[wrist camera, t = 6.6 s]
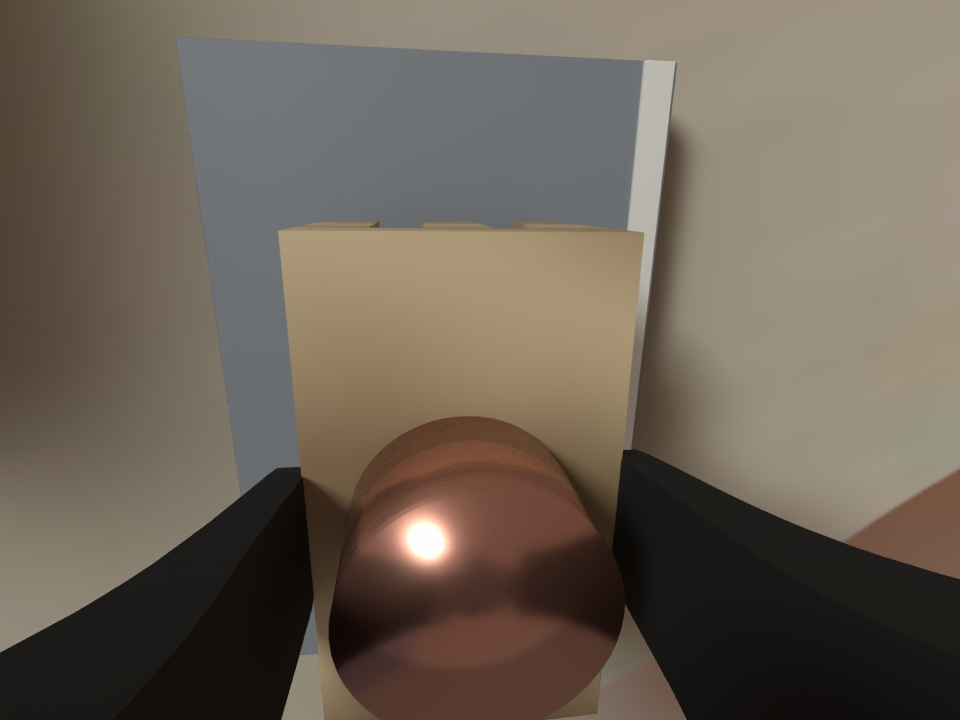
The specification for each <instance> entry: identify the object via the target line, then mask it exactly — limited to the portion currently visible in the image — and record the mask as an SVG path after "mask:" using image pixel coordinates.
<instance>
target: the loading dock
mask: <svg viewBox="0 0 960 720" xmlns="http://www.w3.org/2000/svg"><path fill="white" fill-rule="evenodd" d="M176 44H177V51H178V58H179V65H180V72H181V79H182V86H183V93H184V100H185V107H186V114H187V121H188V128H189V135H190V142H191V149H192V156H193V163H194V170H195V177H196V184H197V191H198V198H199V205H200V212H201V219H202V226H203V233H204V240H205V247H206V254H207V261H208V268H209V275H210V282H211V289H212V296H213V303H214V310H215V317H216V323H217V330H218V337H219V344H220V351H221V358H222V365H223V372H224V379H225V386H226V393H227V400H228V407H229V414H230V421H231V428H232V435H233V442H234V449H235V456H236V463H237V470H238V477H239V484H240V491H241V496H243V495H244V494H245V493H246V492H247V491H249V490H250V489H251V488H252V487H253V486H255V485H256V484H257V483H258V482H259V481H261V480H262V479H263V478H264V477H266V476H267V475H268V474H269V473H271V472H272V471H274V470H275V469H276V468H284V467H301V466H300V455H299V445H298V434H297V424H296V413H295V403H294V393H293V382H292V372H291V361H290V351H289V340H288V330H287V319H286V309H285V298H284V288H283V277H282V267H281V256H280V246H279V236H278V231H279V230H283V229H288V228H293V227H298V226H303V225H307V224H312V223H317V222H322V221H327V220H350V221H379V228H421V221H471V222H474V223H478V224H482V225H485V226H489V227H493V228H511V222H561V223H569V224H577V225H586V226H594V227H602V228H610V229H619V230H627V231H635V232H644V242H643V252H642V262H641V273H640V283H639V293H638V303H637V313H636V323H635V333H634V343H633V354H632V364H631V374H630V384H629V394H628V404H627V414H626V425H625V435H624V445H623V450H632V449H633V441H634V432H635V424H636V415H637V406H638V398H639V389H640V380H641V372H642V363H643V354H644V346H645V337H646V328H647V320H648V311H649V303H650V294H651V285H652V277H653V268H654V259H655V251H656V242H657V233H658V225H659V216H660V207H661V199H662V190H663V181H664V173H665V164H666V155H667V147H668V138H669V129H670V121H671V112H672V103H673V95H674V86H675V77H676V69H677V63H675V61H655V60H645V61H635V60H616V59H596V58H577V57H557V56H537V55H518V54H498V53H479V52H459V51H439V50H420V49H400V48H381V47H361V46H342V45H322V44H302V43H283V42H263V41H244V40H224V39H204V38H185V37H176ZM317 653H318V644H317V633H316V623H315V612H314V602H313V607H312V612H311V615H310V619H309V623H308V626H307V630H306V634H305V637H304V641H303V644H302V648H301V652H300V655H307V654H317Z"/></svg>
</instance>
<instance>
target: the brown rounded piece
mask: <svg viewBox="0 0 960 720" xmlns="http://www.w3.org/2000/svg"><path fill="white" fill-rule="evenodd" d="M624 608H625V594H624V585H623V580H622V576H621V573H620V569H619V566H618V564H617V562H616V560H615V557H614V555H613V553H612V551H611V550H610V548H609V546H608V545H607V543H606V541H605V540H604V538H603V536H602V535H601V533H600V531H599V530H598V528H597V526H596V524H595V523H594V521H593V519H592V518H591V516H590V514H589V513H588V511H587V509H586V508H585V506H584V504H583V503H582V501H581V499H580V497H579V496H578V494H577V492H576V491H575V489H574V487H573V486H572V484H571V482H570V481H569V479H568V477H567V476H566V474H565V472H564V470H563V469H562V467H561V465H560V464H559V462H558V461H557V459H556V458H555V456H554V455H553V454H552V453H551V451H550V450H549V449H548V448H547V447H546V446H545V445H544V444H543V443H542V442H541V441H539V440H538V439H537V438H536V437H534V436H533V435H531V434H530V433H528V432H527V431H525V430H523V429H522V428H519V427H517V426H515V425H512V424H510V423H507V422H504V421H500V420H497V419H493V418H486V417H480V416H459V417H449V418H444V419H440V420H435V421H432V422H429V423H426V424H423V425H420V426H418V427H416V428H414V429H411V430H409V431H407V432H405V433H404V434H402V435H401V436H399V437H398V438H396V439H394V440H393V441H391V442H390V443H389V444H388V445H387V446H386V447H384V448H383V449H382V450H381V451H380V452H379V453H378V454H377V455H376V456H375V457H374V458H373V460H372V461H371V462H370V463H369V465H368V466H367V467H366V469H365V470H364V472H363V473H362V475H361V477H360V479H359V481H358V483H357V485H356V487H355V490H354V493H353V496H352V499H351V504H350V509H349V514H348V520H347V525H346V530H345V536H344V541H343V546H342V552H341V557H340V563H339V568H338V573H337V579H336V584H335V589H334V595H333V600H332V605H331V611H330V617H329V631H328V639H329V646H330V652H331V657H332V660H333V663H334V665H335V668H336V671H337V673H338V675H339V677H340V678H341V680H342V682H343V684H344V685H345V687H346V688H347V689H348V691H349V692H350V693H351V695H352V696H353V697H354V698H355V699H356V700H357V701H358V702H359V703H360V704H361V705H362V706H363V707H364V708H365V709H366V710H368V711H369V712H371V713H372V714H373V715H375V716H376V717H378V718H379V719H381V720H541V719H543V718H545V717H547V716H549V715H551V714H552V713H554V712H555V711H557V710H559V709H560V708H562V707H563V706H565V705H566V704H567V703H569V702H570V701H571V700H572V699H574V698H575V697H576V696H577V695H578V694H580V693H581V692H582V691H583V690H584V689H585V688H586V687H587V686H588V685H589V684H590V683H591V682H592V680H593V679H594V678H595V677H596V676H597V674H598V673H599V672H600V671H601V669H602V668H603V666H604V665H605V663H606V662H607V660H608V659H609V657H610V655H611V653H612V651H613V649H614V647H615V645H616V642H617V640H618V637H619V634H620V631H621V627H622V622H623V617H624Z"/></svg>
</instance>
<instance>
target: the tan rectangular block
mask: <svg viewBox="0 0 960 720" xmlns="http://www.w3.org/2000/svg"><path fill="white" fill-rule="evenodd" d="M278 236H279V246H280V256H281V267H282V277H283V288H284V298H285V309H286V319H287V330H288V340H289V351H290V361H291V372H292V382H293V393H294V403H295V413H296V424H297V434H298V445H299V455H300V466H301V476H302V477H303V485H304V496H305V507H306V517H307V528H308V538H309V549H310V559H311V570H312V580H313V591H314V601H313V602H314V612H315V623H316V633H317V644H318V654H319V665H320V675H321V686H322V696H323V706H324V717H325V720H381V719H379V718H378V717H376V716H375V715H373V714H372V713H371V712H369V711H368V710H366V709H365V708H364V707H363V706H362V705H361V704H360V703H359V702H358V701H357V700H356V699H355V698H354V697H353V696H352V695H351V693H350V692H349V691H348V689H347V688H346V687H345V685H344V684H343V682H342V680H341V678H340V677H339V675H338V673H337V671H336V668H335V665H334V663H333V660H332V657H331V652H330V646H329V639H328V631H329V617H330V611H331V605H332V600H333V595H334V589H335V584H336V579H337V573H338V568H339V563H340V557H341V552H342V546H343V541H344V536H345V530H346V525H347V520H348V514H349V509H350V504H351V499H352V496H353V493H354V490H355V487H356V485H357V483H358V481H359V479H360V477H361V475H362V473H363V472H364V470H365V469H366V467H367V466H368V465H369V463H370V462H371V461H372V460H373V458H374V457H375V456H376V455H377V454H378V453H379V452H380V451H381V450H382V449H383V448H384V447H386V446H387V445H388V444H389V443H390V442H391V441H393V440H394V439H396V438H398V437H399V436H401V435H402V434H404V433H405V432H407V431H409V430H411V429H414V428H416V427H418V426H420V425H423V424H426V423H429V422H432V421H435V420H440V419H444V418H449V417H459V416H480V417H486V418H493V419H497V420H500V421H504V422H507V423H510V424H512V425H515V426H517V427H519V428H522V429H523V430H525V431H527V432H528V433H530V434H531V435H533V436H534V437H536V438H537V439H538V440H539V441H541V442H542V443H543V444H544V445H545V446H546V447H547V448H548V449H549V450H550V451H551V453H552V454H553V455H554V456H555V458H556V459H557V461H558V462H559V464H560V465H561V467H562V469H563V470H564V472H565V474H566V476H567V477H568V479H569V481H570V482H571V484H572V486H573V487H574V489H575V491H576V492H577V494H578V496H579V497H580V499H581V501H582V503H583V504H584V506H585V508H586V509H587V511H588V513H589V514H590V516H591V518H592V519H593V521H594V523H595V524H596V526H597V528H598V530H599V531H600V533H601V535H602V536H603V538H604V540H605V541H606V543H607V545H608V546H609V548H610V550H611V551H612V548H613V538H614V528H615V518H616V508H617V497H618V487H619V477H620V467H621V459H622V455H623V445H624V435H625V425H626V414H627V404H628V394H629V384H630V374H631V364H632V354H633V343H634V333H635V323H636V313H637V303H638V293H639V283H640V273H641V262H642V252H643V242H644V232H635V231H627V230H619V229H610V228H602V227H594V226H586V225H577V224H569V223H561V222H511V228H493V227H489V226H485V225H482V224H478V223H474V222H471V221H421V228H379V221H350V220H327V221H322V222H317V223H312V224H307V225H303V226H298V227H293V228H288V229H283V230H279V231H278ZM600 678H601V671H600V672H599V673H598V674H597V676H596V677H595V678H594V679H593V680H592V682H591V683H590V684H589V685H588V686H587V687H586V688H585V689H584V690H583V691H582V692H581V693H580V694H578V695H577V696H576V697H575V698H574V699H572V700H571V701H570V702H569V703H567V704H566V705H565V706H563V707H562V708H560V709H559V710H557V711H555V712H554V713H552V714H551V715H549V716H547V717H545V718H543V719H541V720H548V719H555V718H564V717H572V716H580V715H589V714H597V708H598V697H599V688H600Z"/></svg>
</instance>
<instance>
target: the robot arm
mask: <svg viewBox="0 0 960 720" xmlns="http://www.w3.org/2000/svg"><path fill="white" fill-rule="evenodd" d="M612 553H613V555H614V557H615V560H616V562H617V564H618V566H619V569H620V573H621V576H622V580H623V585H624V594H625V604H626V606H627V608H628V610H629V612H630V614H631V615H632V617H633V619H634V621H635V623H636V625H637V627H638V628H639V630H640V632H641V634H642V636H643V637H644V639H645V641H646V643H647V645H648V647H649V648H650V650H651V652H652V654H653V656H654V658H655V659H656V661H657V663H658V665H659V667H660V669H661V670H662V672H663V674H664V676H665V678H666V679H667V681H668V683H669V685H670V687H671V689H672V691H673V692H674V694H675V697H676V699H677V701H678V703H679V704H680V707H681V709H682V711H683V713H684V715H685V717H686V719H687V720H960V579H957V578H953V577H949V576H946V575H942V574H939V573H935V572H932V571H928V570H925V569H922V568H919V567H915V566H912V565H909V564H906V563H902V562H899V561H896V560H892V559H889V558H886V557H882V556H880V555H877V554H874V553H871V552H868V551H865V550H862V549H859V548H856V547H853V546H850V545H848V544H845V543H842V542H840V541H837V540H834V539H832V538H829V537H826V536H824V535H821V534H818V533H816V532H813V531H810V530H808V529H805V528H803V527H800V526H798V525H796V524H793V523H791V522H788V521H786V520H784V519H781V518H779V517H777V516H775V515H772V514H770V513H768V512H766V511H763V510H761V509H759V508H757V507H754V506H752V505H750V504H748V503H746V502H744V501H742V500H740V499H737V498H735V497H733V496H731V495H729V494H727V493H725V492H723V491H721V490H719V489H717V488H715V487H713V486H711V485H709V484H707V483H705V482H703V481H701V480H699V479H697V478H695V477H693V476H691V475H689V474H687V473H685V472H683V471H681V470H679V469H677V468H675V467H673V466H671V465H669V464H667V463H665V462H663V461H661V460H659V459H657V458H655V457H653V456H651V455H648V454H646V453H644V452H641V451H638V450H635V449H632V450H623V455H622V459H621V467H620V477H619V487H618V497H617V508H616V518H615V528H614V538H613V548H612ZM313 601H314V591H313V580H312V570H311V559H310V549H309V538H308V528H307V517H306V507H305V496H304V485H303V477H302V476H301V467H284V468H276V469H275V470H274V471H272V472H271V473H269V474H268V475H267V476H266V477H264V478H263V479H262V480H261V481H259V482H258V483H257V484H256V485H255V486H253V487H252V488H251V489H250V490H249V491H247V492H246V493H245V494H244V495H243V496H241V497H240V498H239V499H238V500H236V501H235V502H234V503H233V504H232V505H230V506H229V507H228V508H227V509H225V510H224V511H223V512H222V513H220V514H219V515H218V516H217V517H215V518H214V519H213V520H212V521H210V522H209V523H208V524H207V525H205V526H204V527H203V528H201V529H200V530H199V531H197V532H196V533H194V534H193V535H192V536H190V537H189V538H188V539H186V540H185V541H183V542H182V543H181V544H179V545H178V546H177V547H175V548H174V549H173V550H171V551H170V552H168V553H167V554H166V555H164V556H163V557H162V558H160V559H159V560H158V561H156V562H155V563H153V564H152V565H150V566H149V567H147V568H146V569H144V570H143V571H141V572H140V573H138V574H137V575H135V576H134V577H132V578H131V579H129V580H128V581H126V582H124V583H123V584H121V585H120V586H118V587H116V588H115V589H113V590H111V591H110V592H108V593H107V594H105V595H103V596H102V597H100V598H98V599H97V600H95V601H93V602H92V603H90V604H89V605H87V606H85V607H83V608H82V609H80V610H78V611H77V612H75V613H73V614H71V615H69V616H67V617H66V618H64V619H62V620H60V621H58V622H56V623H54V624H53V625H51V626H49V627H47V628H45V629H43V630H41V631H40V632H38V633H36V634H34V635H32V636H30V637H28V638H27V639H25V640H23V641H21V642H19V643H17V644H15V645H14V646H12V647H10V648H8V649H6V650H4V651H2V652H1V653H0V720H281V718H282V715H283V711H284V708H285V704H286V701H287V697H288V694H289V690H290V687H291V683H292V680H293V676H294V673H295V669H296V666H297V662H298V659H299V655H300V652H301V648H302V644H303V641H304V637H305V634H306V630H307V626H308V623H309V619H310V615H311V612H312V607H313Z"/></svg>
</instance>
